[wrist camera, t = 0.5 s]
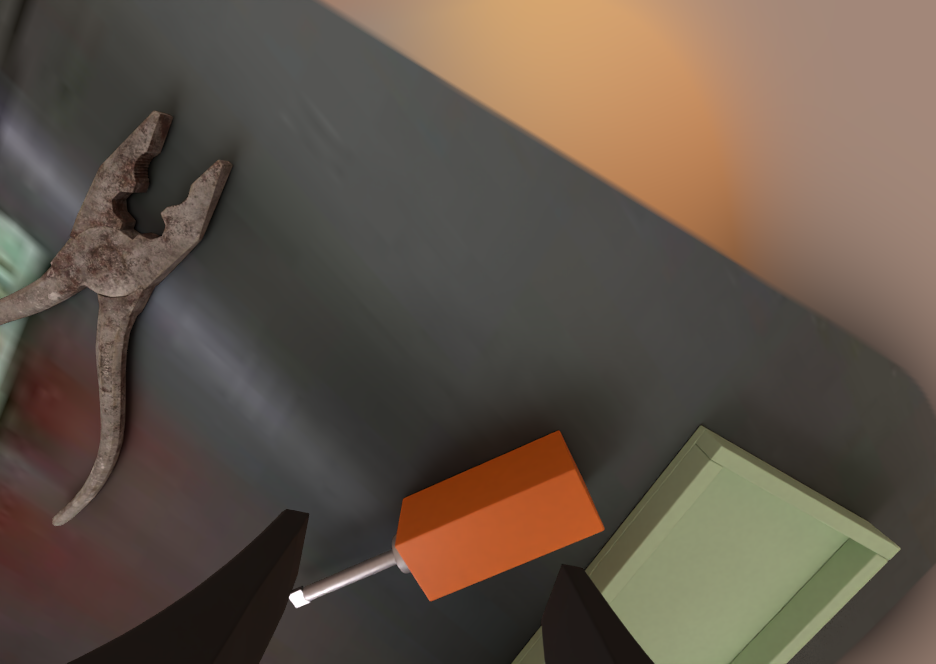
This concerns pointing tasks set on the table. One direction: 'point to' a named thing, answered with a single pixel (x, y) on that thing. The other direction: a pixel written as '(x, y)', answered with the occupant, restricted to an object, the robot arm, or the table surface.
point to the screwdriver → (482, 522)
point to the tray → (730, 561)
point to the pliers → (119, 273)
